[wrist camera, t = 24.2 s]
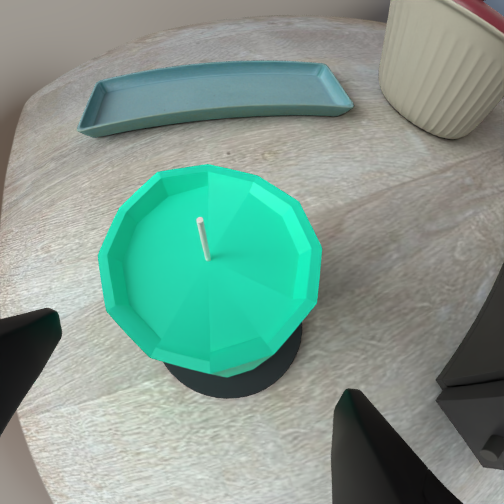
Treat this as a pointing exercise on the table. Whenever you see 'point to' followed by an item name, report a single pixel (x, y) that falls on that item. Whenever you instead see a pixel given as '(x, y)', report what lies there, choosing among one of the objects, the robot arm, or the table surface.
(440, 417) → the table surface
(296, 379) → the table surface
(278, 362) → the coaster
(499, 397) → the drawer
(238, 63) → the rectangular tray
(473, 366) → the cabinet
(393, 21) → the canister
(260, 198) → the candle
